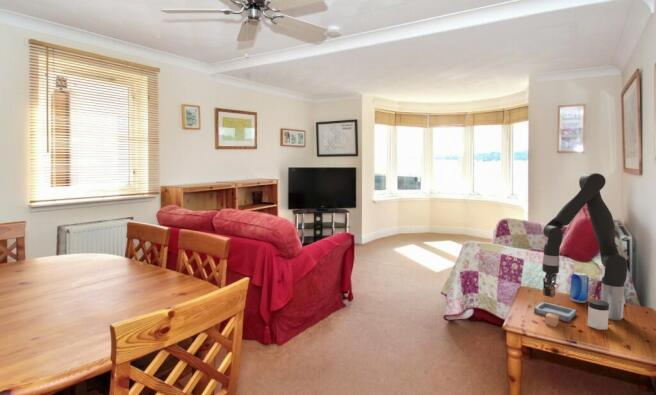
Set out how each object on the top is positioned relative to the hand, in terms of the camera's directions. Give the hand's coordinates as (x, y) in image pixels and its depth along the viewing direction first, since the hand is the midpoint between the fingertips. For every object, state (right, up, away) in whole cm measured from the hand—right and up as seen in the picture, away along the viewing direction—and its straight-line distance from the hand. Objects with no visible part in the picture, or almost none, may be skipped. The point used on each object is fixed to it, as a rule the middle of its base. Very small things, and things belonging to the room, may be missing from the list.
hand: (549, 294), depth 200 cm
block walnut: (0, 0, 0) cm, 0 cm away
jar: (+14, -11, -17) cm, 24 cm away
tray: (+2, -10, -1) cm, 10 cm away
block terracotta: (-7, -11, -14) cm, 19 cm away
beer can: (+27, -8, +16) cm, 32 cm away
